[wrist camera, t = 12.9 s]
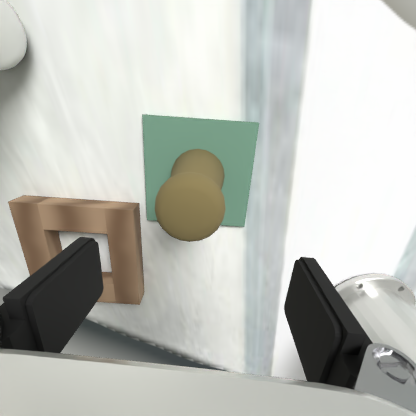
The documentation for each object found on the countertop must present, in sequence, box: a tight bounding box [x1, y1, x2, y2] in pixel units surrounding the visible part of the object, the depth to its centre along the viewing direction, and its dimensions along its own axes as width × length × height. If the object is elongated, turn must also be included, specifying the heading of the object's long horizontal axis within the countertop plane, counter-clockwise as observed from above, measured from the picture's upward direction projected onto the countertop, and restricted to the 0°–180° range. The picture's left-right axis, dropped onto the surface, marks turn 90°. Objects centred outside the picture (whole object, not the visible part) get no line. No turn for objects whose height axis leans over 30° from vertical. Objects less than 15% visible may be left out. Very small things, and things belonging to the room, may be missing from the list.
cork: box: [155, 149, 226, 242], centre depth 20 cm, size 6×6×11 cm
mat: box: [142, 115, 259, 227], centre depth 25 cm, size 12×12×1 cm
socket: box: [8, 195, 144, 305], centre depth 29 cm, size 14×14×2 cm
